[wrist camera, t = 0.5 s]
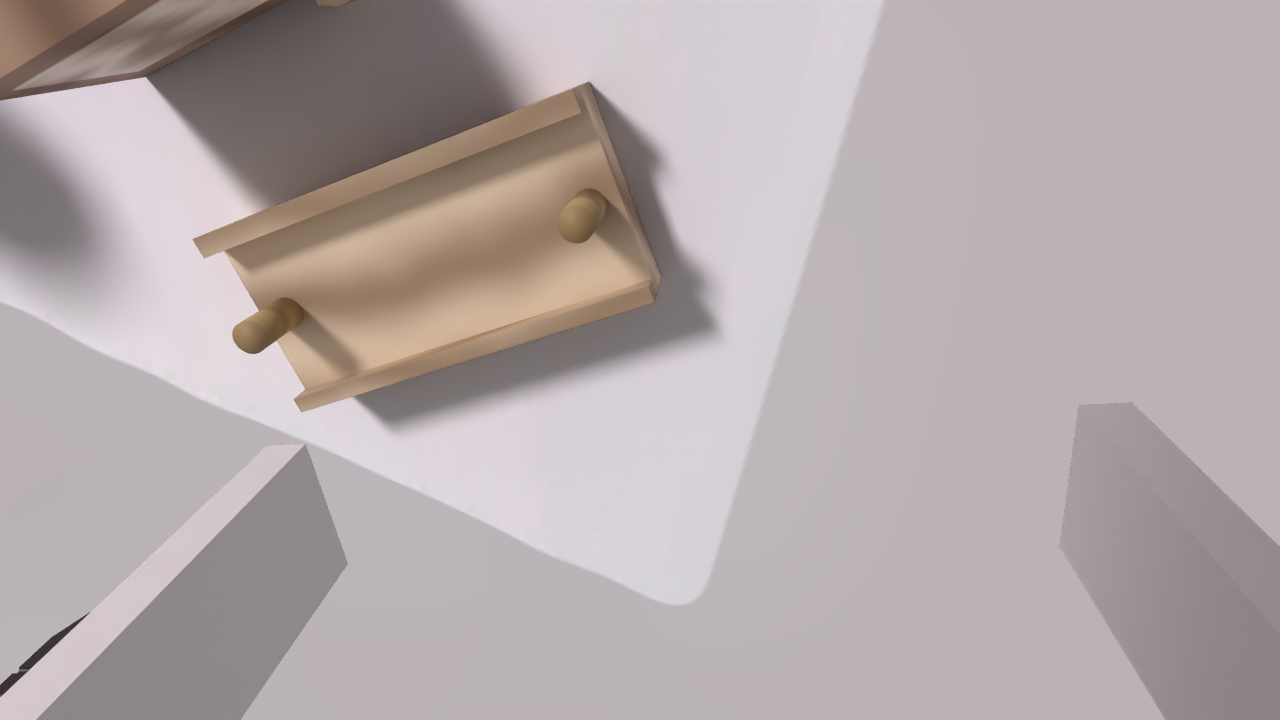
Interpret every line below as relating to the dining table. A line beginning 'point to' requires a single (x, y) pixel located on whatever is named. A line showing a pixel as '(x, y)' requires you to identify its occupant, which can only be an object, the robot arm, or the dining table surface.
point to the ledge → (445, 252)
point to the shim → (331, 2)
